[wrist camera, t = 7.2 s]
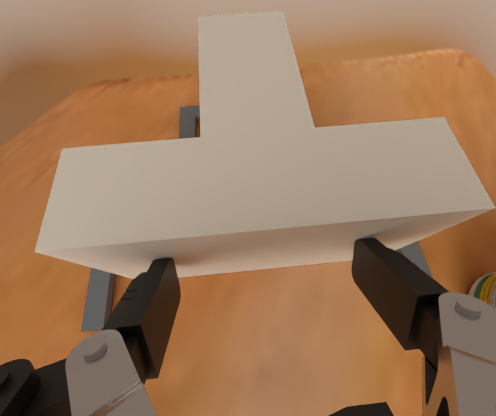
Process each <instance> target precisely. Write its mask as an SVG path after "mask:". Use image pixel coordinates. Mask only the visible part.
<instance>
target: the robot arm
mask: <svg viewBox="0 0 496 416" xmlns="http://www.w3.org/2000/svg"><path fill="white" fill-rule="evenodd" d="M352 276H353V279H354V281H355V283H356V285H357V286H358V287H359V289H360V290H361V291H362V293H363V294H364V295H365V297H366V298H367V299H368V301H369V302H370V304H371V305H372V306H373V308H374V309H375V310H376V312H377V313H378V314H379V316H380V317H381V318H382V320H383V321H384V322H385V324H386V325H387V326H388V328H389V329H390V330H391V332H392V333H393V335H394V336H395V337H396V339H397V340H398V341H399V343H400V344H401V345H402V347H403V348H404V349H405V350H413V349H420V350H421V351H422V352H423V358H422V416H496V310H495V309H494V308H493V307H491V306H490V305H488V304H487V303H485V302H483V301H482V300H480V299H477V298H475V297H473V296H470V295H466V294H462V293H457V292H449V291H448V290H446V289H445V288H444V287H443V286H441V285H440V284H439V283H438V282H436V281H435V280H434V279H433V278H431V277H430V276H429V275H428V274H426V273H425V272H424V271H423V270H420V269H419V267H418V266H417V265H415V264H414V263H412V262H411V261H410V260H409V259H408V258H407V257H405V256H404V255H403V254H401V253H399V252H397V251H395V250H393V249H391V248H387V247H386V246H384V245H383V244H382V243H381V242H380V241H379V240H377V239H376V238H367V239H357V240H356V241H355V243H354V251H353V261H352ZM179 302H180V285H179V280H178V276H177V271H176V267H175V263H174V260H173V258H164V259H155V260H153V261H152V263H151V265H150V267H149V269H148V271H147V272H142V273H140V274H139V275H138V276H137V277H136V278H135V279H133V280H132V281H131V283H130V284H129V286H128V288H127V289H126V292H125V293H124V294H123V296H122V297H121V301H119V302H118V304H117V306H116V307H115V309H114V310H113V312H112V314H111V315H110V317H109V319H108V320H107V322H106V323H105V325H104V327H103V328H102V330H101V331H99V332H96V333H94V334H92V335H90V336H88V337H87V338H85V339H84V340H82V341H81V342H80V343H79V344H77V345H76V346H75V347H74V349H73V350H72V351H71V352H70V354H69V355H68V357H67V358H66V359H63V360H61V361H58V362H55V363H53V364H50V365H47V366H44V367H42V368H39V369H36V370H35V369H34V367H33V365H32V364H31V362H30V361H29V360H26V359H17V360H13V361H10V362H7V363H5V364H2V365H0V416H157V415H156V413H155V410H154V408H153V406H152V403H151V401H150V399H149V397H148V394H147V392H146V390H145V387H144V384H145V381H146V379H153V378H158V376H159V373H160V369H161V366H162V362H163V359H164V355H165V352H166V348H167V345H168V341H169V338H170V334H171V331H172V327H173V324H174V320H175V316H176V313H177V309H178V306H179ZM329 416H393V414H392V412H391V410H390V408H389V406H388V405H387V403H386V402H383V403H374V404H366V405H358V406H350V407H345V408H343V409H341V410H339V411H337V412H335V413H333V414H331V415H329Z"/></svg>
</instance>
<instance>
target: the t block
mask: <svg viewBox="0 0 496 416" xmlns="http://www.w3.org/2000/svg"><path fill="white" fill-rule="evenodd" d="M198 43H199V44H198V45H199V46H198V47H199V99H200V137H195V138H183V139H171V140H158V141H146V142H134V143H122V144H110V145H98V146H86V147H74V148H62V151H61V155H60V159H59V162H58V166H57V170H56V174H55V177H54V181H53V185H52V188H51V192H50V196H49V200H48V203H47V207H46V211H45V214H44V218H43V222H42V226H41V229H40V233H39V237H38V240H37V244H36V248H35V252H36V253H40V254H44V255H47V256H51V257H55V258H58V259H62V260H66V261H69V262H73V263H77V264H80V265H84V266H87V267H91V268H95V269H98V270H102V271H106V272H109V273H113V274H117V275H120V276H124V277H127V278H131V279H135V278H136V277H137V276H138V275H139V274H140V273H142V272H147V271H148V269H149V267H150V265H151V263H152V261H153V260H155V259H164V258H173V260H174V263H175V267H176V271H177V276H178V278H181V277H191V276H201V275H211V274H221V273H231V272H241V271H251V270H261V269H271V268H281V267H291V266H301V265H311V264H321V263H331V262H341V261H351V260H353V251H354V243H355V241H356V240H357V239H367V238H376V239H377V240H379V241H380V242H381V243H382V244H383V245H384V246H386V247H387V248H391V249H393V250H397V249H400V248H402V247H404V246H407V245H409V244H411V243H414V242H416V241H419V240H421V239H423V238H426V237H428V236H430V235H433V234H435V233H438V232H440V231H442V230H445V229H447V228H449V227H452V226H454V225H457V224H459V223H461V222H464V221H466V220H468V219H471V218H473V217H476V216H478V215H480V214H483V213H485V212H487V211H490V210H492V209H495V206H494V204H493V202H492V201H491V199H490V197H489V195H488V194H487V192H486V190H485V188H484V186H483V185H482V183H481V181H480V179H479V178H478V176H477V174H476V172H475V171H474V169H473V167H472V165H471V163H470V162H469V160H468V158H467V156H466V155H465V153H464V151H463V149H462V148H461V146H460V144H459V142H458V140H457V139H456V137H455V135H454V133H453V132H452V130H451V128H450V126H449V125H448V123H447V121H446V119H445V117H437V118H425V119H413V120H401V121H389V122H377V123H364V124H352V125H340V126H328V127H316V128H315V127H314V123H313V119H312V116H311V112H310V108H309V104H308V101H307V97H306V93H305V90H304V86H303V82H302V78H301V75H300V71H299V67H298V64H297V60H296V56H295V52H294V49H293V45H292V42H291V38H290V34H289V30H288V26H287V23H286V19H285V15H284V12H283V10H281V11H266V12H250V13H236V14H220V15H206V16H198Z"/></svg>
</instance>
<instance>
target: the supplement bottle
mask: <svg viewBox="0 0 496 416" xmlns="http://www.w3.org/2000/svg"><path fill="white" fill-rule="evenodd" d="M468 295H470V296H473V297H475V298H477V299H480V300H482V301H483V302H485V303H487V304H488V305H490V306H491V307H493V308H494V309H495V310H496V272H493V273H489V274H486V275H484V276H482V277H480V278H478V279H477V280H476V281H475V283H474V284H473V285H472V287H471V289H470V291H469V293H468Z"/></svg>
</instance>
